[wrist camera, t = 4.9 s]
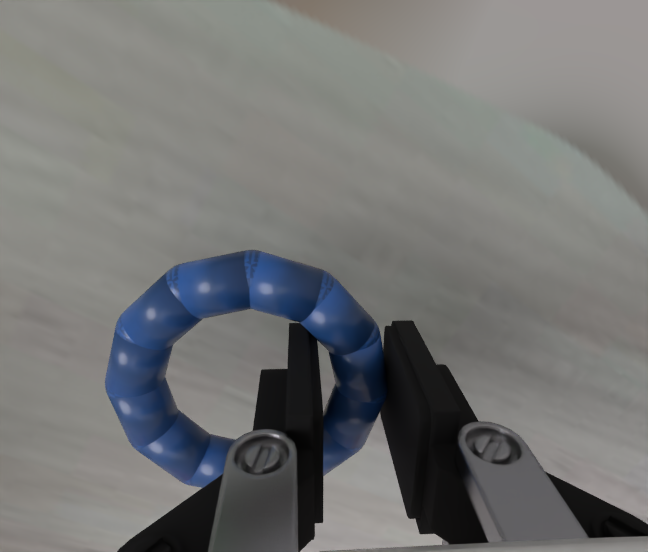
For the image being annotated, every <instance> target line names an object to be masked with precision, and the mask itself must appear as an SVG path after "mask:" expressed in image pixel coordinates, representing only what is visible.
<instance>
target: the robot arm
mask: <svg viewBox="0 0 648 552" xmlns="http://www.w3.org/2000/svg"><path fill="white" fill-rule="evenodd" d="M383 354H384V360H385V366H386V372H387V384H388V391H387V397H386V399H385V401H384V404H383V406H382V408H381V410H380V414H381V419H382V422H383V426H384V430H385V434H386V438H387V441H388V445H389V449H390V453H391V456H392V460H393V464H394V468H395V471H396V475H397V479H398V483H399V487H400V490H401V494H402V498H403V502H404V505H405V509H406V513H407V516H408V518H409V519H414V518H415V519H416V522H417V526H418V529H419V533H420V534H436V535H438V536H439V537H441V538H442V539H443V541H442V545H434V546H414V547H395V548H375V549H356V550H338V551H321V552H648V524H646V523H645V522H643V521H642V520H640V519H638V518H637V517H635V516H633V515H631V514H629V513H627V512H625V511H623V510H621V509H619V508H617V507H615V506H613V505H611V504H609V503H607V502H605V501H603V500H601V499H599V498H597V497H595V496H593V495H591V494H589V493H587V492H585V491H583V490H581V489H579V488H577V487H575V486H573V485H571V484H569V483H567V482H565V481H563V480H561V479H559V478H557V477H555V476H553V475H551V474H549V473H547V472H545V471H544V469H543V468H542V466H541V465H540V463H539V462H538V460H537V459H536V457H535V456H534V454H533V453H532V451H531V450H530V448H529V447H528V445H527V444H526V443H525V442H524V440H523V439H522V438H521V437H520V436H519V435H518V434H516V433H515V432H513V431H512V430H510V429H508V428H506V427H504V426H502V425H499V424H495V423H491V422H481V421H478V420H477V418H476V416H475V414H474V413H473V411H472V409H471V407H470V405H469V404H468V402H467V400H466V398H465V397H464V395H463V393H462V391H461V390H460V388H459V386H458V384H457V383H456V381H455V379H454V377H453V376H452V374H451V372H450V370H449V369H448V367H447V366H446V365H436V363H435V362H434V360H433V358H432V356H431V354H430V352H429V350H428V348H427V347H426V345H425V343H424V341H423V339H422V337H421V335H420V333H419V331H418V330H417V328H416V326H415V324H414V322H413V321H392V324H391V326H386V327H385V331H384V347H383ZM315 523H323V405H322V393H321V381H320V369H319V357H318V345H317V339H316V338H315V337H314V336H313V335H312V334H311V333H310V332H309V331H308V330H307V329H306V328H305V327H303V326H302V325H301V324H300V323H289V345H288V369H266V370H261V375H260V382H259V390H258V397H257V404H256V411H255V419H254V426H253V431H251V432H249V433H246V434H244V435H242V436H241V437H239V438H238V439H236V440H235V441H234V443H233V444H232V445H231V446H230V448H229V450H228V453H227V456H226V461H225V466H224V471H223V474H222V475H220V476H219V477H218V478H216V479H215V480H213V481H212V482H211V483H209V484H208V485H206V486H205V487H204V488H202V489H201V490H199V491H198V492H196V493H195V494H194V495H192V496H191V497H189V498H188V499H187V500H185V501H184V502H182V503H181V504H180V505H178V506H177V507H175V508H174V509H173V510H171V511H170V512H168V513H167V514H165V515H164V516H163V517H161V518H160V519H158V520H157V521H156V522H154V523H153V524H151V525H150V526H149V527H147V528H146V529H144V530H143V531H141V532H140V533H139V534H137V535H136V536H134V537H133V538H132V539H130V540H129V541H128V542H127V543H126V544H125V545H123V546H122V547H121V548H120V549H119V550H118V551H117V552H300V551H301V550H302V549H303V548H304V547H305V546H306V545H307V544H308V543H309V542H310V541H311V540H314V537H315Z"/></svg>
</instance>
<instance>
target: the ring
mask: <svg viewBox="0 0 648 552" xmlns="http://www.w3.org/2000/svg"><path fill="white" fill-rule="evenodd" d="M247 309H254V310H257V311H261V312H265V313H268V314H272V315H275V316H279V317H283V318H286V319H290V320H293V321H297V322H299V323H300V324H301V325H302V326H303V327H305V328H306V329H307V330H308V331H309V332H310V333H311V334H312V335H313V336H314V337H315V338H316V339H317V340H318V341H319V342H320V343H321V344H322V345H323V346H324V347H325V348H326V349H327V350H328V351H329V355H330V360H331V364H332V369H333V373H334V378H335V382H336V384H335V386H334V388H333V391H332V393H331V396H330V398H329V400H328V403H327V405H326V408H325V410H324V412H323V476H324V475H326V474H327V473H328V472H330V471H331V470H333V469H334V468H335V467H337V466H338V465H340V464H341V463H342V462H344V461H345V460H347V459H348V458H350V457H351V456H352V455H354V454H355V453H357V452H358V451H359V450H360V449H361V448H362V447H363V445H364V444H365V442H366V440H367V438H368V435H369V433H370V431H371V429H372V427H373V425H374V423H375V421H376V418H377V416H378V414H379V412H380V410H381V408H382V406H383V404H384V401H385V399H386V397H387V391H388V384H387V372H386V366H385V360H384V354H383V348H382V342H381V335H380V331H379V327H378V325H377V323H376V322H375V320H374V319H373V318H372V317H371V316H370V315H369V314H368V313H367V312H366V311H365V310H364V308H363V307H362V306H361V305H360V304H359V303H358V302H357V301H356V300H355V299H354V298H353V297H352V296H351V295H350V294H349V293H348V292H347V290H346V289H345V288H344V287H343V286H342V285H341V284H340V283H339V282H338V281H337V280H336V279H335V278H334V277H333V276H332V275H331V274H330V273H328V272H326V271H324V270H322V269H318V268H315V267H312V266H308V265H305V264H302V263H298V262H295V261H292V260H288V259H285V258H282V257H279V256H275V255H272V254H269V253H265V252H262V251H258V250H246V251H241V252H236V253H231V254H226V255H221V256H216V257H211V258H206V259H202V260H197V261H192V262H187V263H182V264H179V265H176V266H174V267H173V268H171V269H170V270H168V271H167V272H166V273H165V274H164V275H163V276H162V277H161V278H160V279H159V280H158V281H157V282H155V283H154V284H153V285H152V286H151V287H150V288H149V289H148V290H147V291H146V292H145V293H144V294H142V295H141V296H140V297H139V298H138V299H137V300H136V301H135V302H134V303H133V304H132V305H130V306H129V307H128V308H127V309H126V310H125V311H124V312H123V313H122V314H121V316H120V317H119V319H118V321H117V324H116V328H115V333H114V338H113V343H112V348H111V353H110V358H109V363H108V368H107V373H106V378H105V388H106V392H107V394H108V397H109V399H110V401H111V403H112V405H113V407H114V410H115V412H116V414H117V416H118V418H119V420H120V422H121V425H122V427H123V429H124V431H125V433H126V435H127V437H128V440H129V442H130V443H131V445H132V446H133V447H134V448H135V449H136V450H137V451H139V452H140V453H141V454H143V455H144V456H146V457H147V458H148V459H150V460H151V461H153V462H154V463H155V464H157V465H158V466H160V467H161V468H162V469H164V470H165V471H167V472H168V473H170V474H171V475H172V476H174V477H175V478H177V479H178V480H179V481H181V482H183V483H184V484H187V485H191V486H196V487H201V488H204V487H205V486H206V485H208V484H209V483H211V482H212V481H213V480H215V479H216V478H218V477H219V476H220V475H222V474H223V471H224V466H225V461H226V456H227V453H228V450H229V448H230V446H231V445H232V444H233V443H234V441H235V440H234V439H230V438H225V437H221V436H216V435H212V434H209V433H208V432H206V431H205V430H204V429H202V428H201V427H200V426H199V425H197V424H196V423H195V422H193V421H192V420H191V419H190V418H188V417H187V416H186V415H184V414H183V413H182V412H181V411H179V410H178V409H177V406H176V404H175V401H174V399H173V396H172V394H171V391H170V389H169V386H168V383H167V381H166V378H165V374H166V370H167V366H168V362H169V358H170V355H171V351H172V347H173V344H174V343H175V342H176V341H178V340H179V339H180V338H181V337H182V336H183V335H185V334H186V333H187V332H188V331H189V330H190V329H191V328H193V327H194V326H195V325H196V324H197V323H198V322H199V321H201V320H202V319H203V318H208V317H213V316H218V315H222V314H227V313H232V312H237V311H242V310H247Z"/></svg>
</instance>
